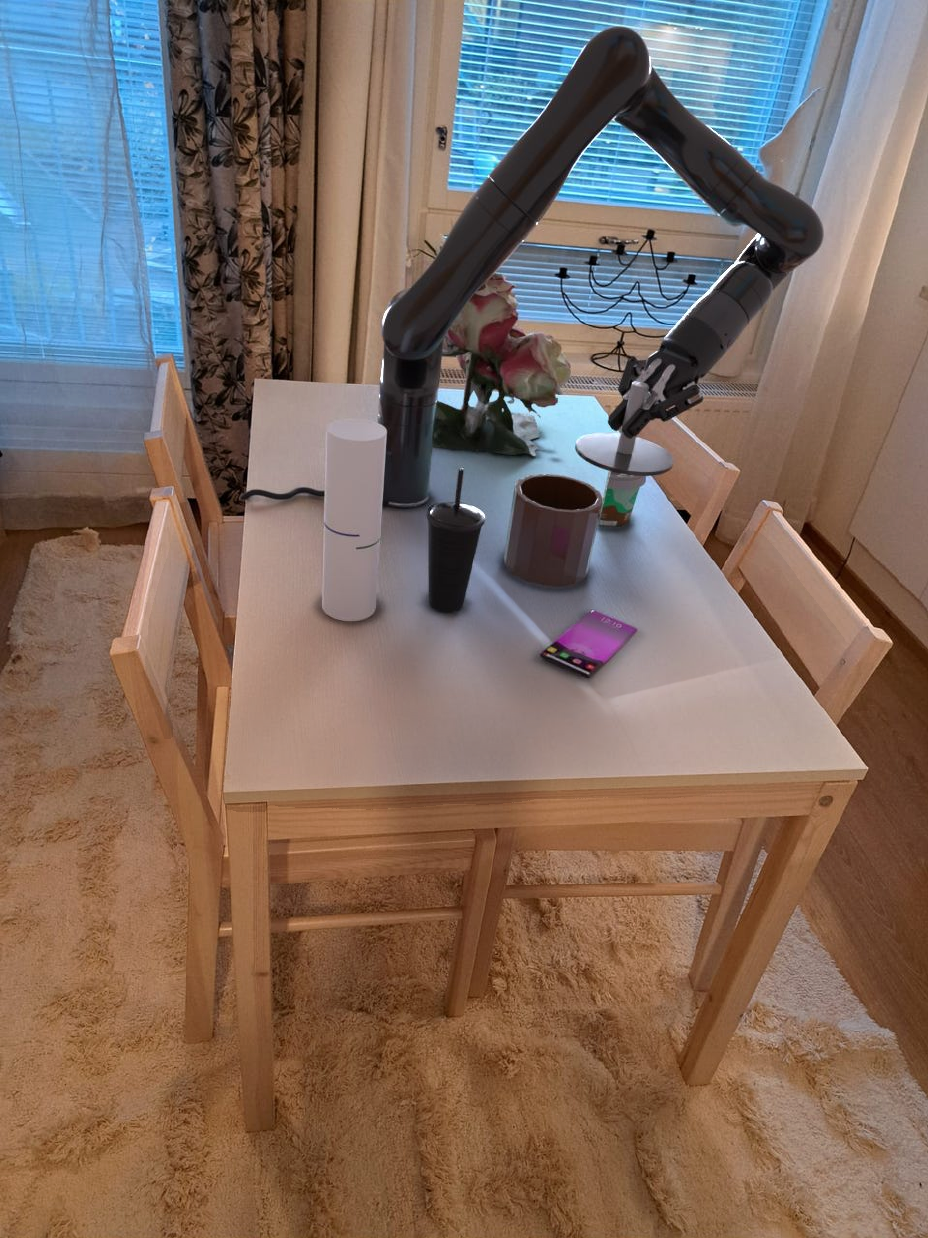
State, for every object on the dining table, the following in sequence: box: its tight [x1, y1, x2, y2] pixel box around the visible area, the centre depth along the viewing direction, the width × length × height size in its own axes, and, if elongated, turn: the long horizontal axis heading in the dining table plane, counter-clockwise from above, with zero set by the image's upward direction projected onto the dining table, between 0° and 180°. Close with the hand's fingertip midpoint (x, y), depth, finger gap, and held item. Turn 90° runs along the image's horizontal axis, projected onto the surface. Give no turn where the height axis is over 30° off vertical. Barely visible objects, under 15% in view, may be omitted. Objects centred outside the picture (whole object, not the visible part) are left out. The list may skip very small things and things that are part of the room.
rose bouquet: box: [433, 272, 572, 457], centre depth 170 cm, size 26×29×30 cm
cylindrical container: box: [321, 417, 387, 622], centre depth 111 cm, size 7×7×25 cm
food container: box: [598, 471, 647, 528], centre depth 147 cm, size 12×6×10 cm, turn 168°
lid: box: [574, 382, 675, 477], centre depth 118 cm, size 14×14×11 cm
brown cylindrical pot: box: [503, 473, 603, 588], centre depth 129 cm, size 13×13×12 cm
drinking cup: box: [425, 467, 486, 614], centre depth 115 cm, size 8×8×20 cm
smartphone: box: [539, 609, 638, 679], centre depth 115 cm, size 7×15×1 cm, turn 146°
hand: (618, 430), depth 118 cm, fingers closed on lid
